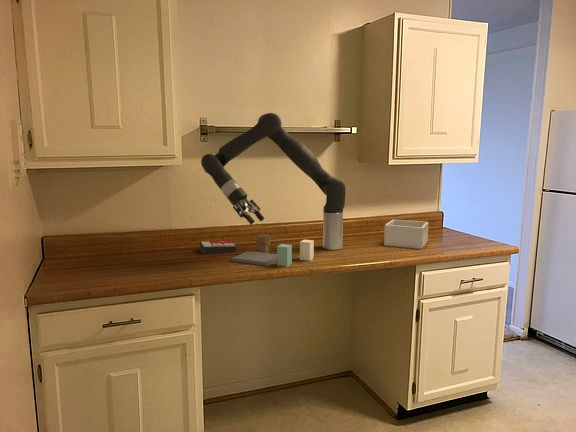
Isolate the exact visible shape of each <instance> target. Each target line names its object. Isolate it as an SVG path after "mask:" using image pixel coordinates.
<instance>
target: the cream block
mask: <svg viewBox="0 0 576 432" xmlns="http://www.w3.org/2000/svg"><path fill="white" fill-rule="evenodd" d="M314 245H315V240H311V239H303V240H301V241H299V260H300V261H307V262H310V261H312V260H314V256H315V255H314V254H315V253H314V251H315V246H314Z"/></svg>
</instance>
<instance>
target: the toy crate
mask: <svg viewBox="0 0 576 432" xmlns="http://www.w3.org/2000/svg"><path fill="white" fill-rule="evenodd" d="M383 238H384V239H383V241H384V242H383V246H388V247H399V248H409V249H419V250H422V249H423V248H424V247H425V245H427V243H428V241H429V240H428V238H429V221H420V220H419V221H418V220H417V221H416V220H406V219H405V220H404V219H403V220H402V219H392V220H390V221H388V222H387V223H386V224H384V237H383Z"/></svg>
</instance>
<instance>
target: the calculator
mask: <svg viewBox="0 0 576 432" xmlns="http://www.w3.org/2000/svg"><path fill="white" fill-rule="evenodd" d="M199 250H200V252H201V254H202V255H212V254H213V255H214V254H230V253H236V252H237V246H236V245H235V243H233V242H232V241H231V240H210V241H201V242H199Z"/></svg>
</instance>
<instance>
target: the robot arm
mask: <svg viewBox="0 0 576 432" xmlns="http://www.w3.org/2000/svg"><path fill="white" fill-rule="evenodd" d="M266 138H268V139H270V140H271V141H272V142H273V143H274V144H275V145H276V146H277V147H278V148H279V149H280V151H282V153H284V155H285V156H286V157H288V159H289V160H290V161H291V162H292V163H293V164H294V165H295V166H296V167H297V168H298V169H299V170H301V171H302V172H303V173H304V174H305V175H306V176H308V178H310V179H311V180H313V182H314V183H315V184H316V186H317V187H318V188H319V189H320V190H321V192H322V193H323V194H324V195H325V196H326V198H325V205H323V211H322V213H323V216H322V220H323V221H322V222H323V223H322V224H323V225H322V248H323V249H325V250H333V251H334V250H341V249H343V231H344V229H343V228H344V227H343V226H344V208H345V205H346V184H345V182H344V181H343V180H342V179H341V178H337V177H334V176H333V175H331V174H330V172H329V173H328V172H327V171H326V170H325V169H324V168H323V166H322V165H321V163H320V162H319V160H318V158H317V157H316V155H315V154H314V153H313V152H312V151H311V150H310V149H309V148H308V147H307V146H306V145H305V144H304V143H303V142H301V141H300V140H299V139H297V138H296V137H294V136H292V135H291V134H289V133H288V132H287V131H286V129H285V128H284V127H283V126H282V119H281V117H280V116H279V115H278V114H276V113H273V112H267V113H265V114H262V115H260V116H259V118H258V120H257V123H256V124H255V125H254V126H253V127H251V128H250V129H248V130H247V131H245V132H243V133H241V134H240V135H237V136H236V137H234V138H233V139H231V140H229V141H228V142H227V143H225V144H224V145H222V146H220V148H219V149H218V151H217V153H216V154H215V155H214V154H212V153H207V154H204V155H203V156H202V158H201V160H200V163H201V167H202V169H203V171H204V172H205V173H206V174H208V175H209V177H211V179H212V180H213V182H214V183H215V184H216V186H217V187H218V188H219V189H220V191H221V192H222V194H223V196H225V198H226V199H227V200H228V201H229V203H230V204H231V205H232V208H233V210H234V211H235V212H236V214H237V215H238V217H240V218H244V219H245V220H246V221H247V222H248V223H249V224H250V225H253V224H254V223H255V221H256V220H255V219H254V218H253V217H252V216H251V214H253V215H255V217H256V218H257V220H258V221H259V222H263V221H264V219H265V217H264V215H263V214H262V213H261V212H260V211H261V207H260V206H259V205H258V204H257V203H256V202H255V200H253V199H251V200H249V199H248V194H247V192H246V191H245V190H244V189H243V188H242V187H241V185H240V184H239V183H238V182H237V181H236V180H235V179H234V178H233V177H232V176H231V174H230V173H229V172H228V171H227V170H226V169H225V166H226V165H227V164H228V163H229V162H230V161H232V160H233V159H236V158H237V157H238V156H239V155H241V154H242V153H243V152H245V151H247V150H248V149H249V148H250V147H252V146H254V145H255V144H257V143H259V142H260V141H261V140H264V139H266ZM249 213H250V214H249Z"/></svg>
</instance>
